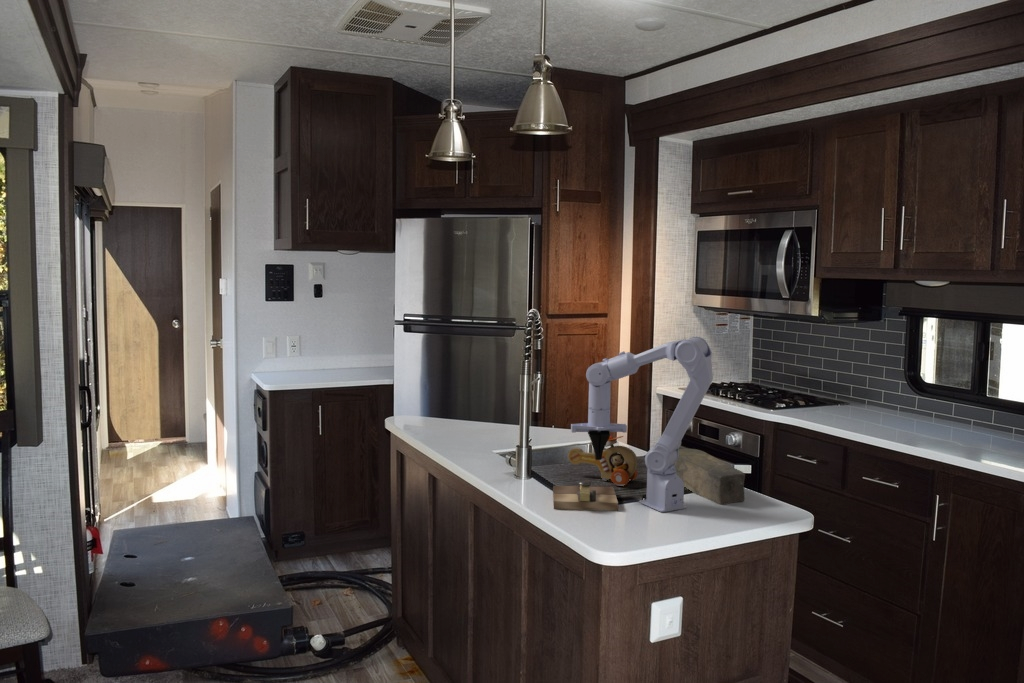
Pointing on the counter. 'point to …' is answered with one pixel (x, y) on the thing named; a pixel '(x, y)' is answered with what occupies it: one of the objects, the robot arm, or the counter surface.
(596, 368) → the robot arm
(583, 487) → the swing bar
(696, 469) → the weathered wooden bar
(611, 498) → the lock board
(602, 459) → the toy helicopter
